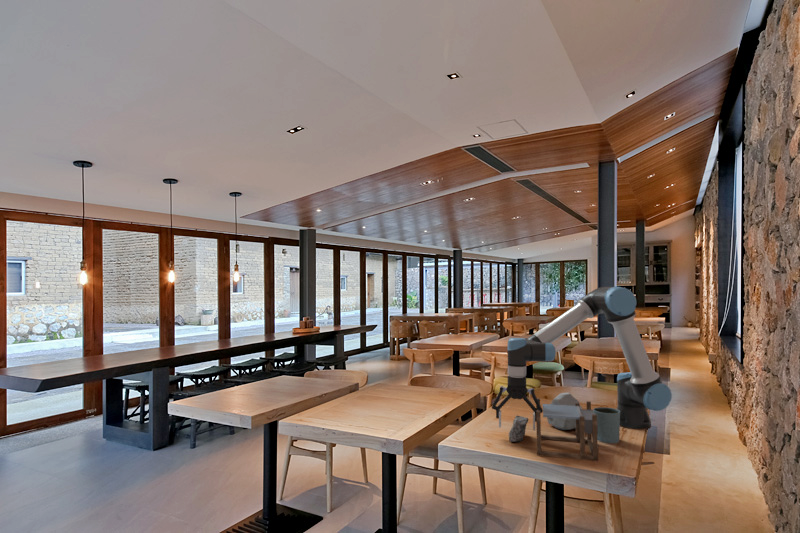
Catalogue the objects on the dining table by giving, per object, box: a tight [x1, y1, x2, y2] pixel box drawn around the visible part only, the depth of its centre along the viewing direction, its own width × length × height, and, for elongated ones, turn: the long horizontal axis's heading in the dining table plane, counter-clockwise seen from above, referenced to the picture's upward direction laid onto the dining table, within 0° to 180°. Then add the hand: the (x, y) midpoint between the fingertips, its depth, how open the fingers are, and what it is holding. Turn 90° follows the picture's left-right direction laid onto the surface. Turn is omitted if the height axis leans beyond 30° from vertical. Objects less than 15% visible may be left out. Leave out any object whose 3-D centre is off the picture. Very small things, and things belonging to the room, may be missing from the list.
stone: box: [546, 392, 583, 431], centre depth 210 cm, size 12×12×15 cm
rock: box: [508, 414, 529, 443], centre depth 195 cm, size 16×8×10 cm, turn 147°
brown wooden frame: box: [535, 397, 599, 461], centre depth 184 cm, size 21×21×16 cm
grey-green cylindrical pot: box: [592, 406, 621, 444], centre depth 193 cm, size 10×10×12 cm
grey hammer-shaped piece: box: [542, 403, 598, 435], centre depth 183 cm, size 19×17×6 cm
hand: (516, 428), depth 195 cm, fingers open, 13 cm apart
